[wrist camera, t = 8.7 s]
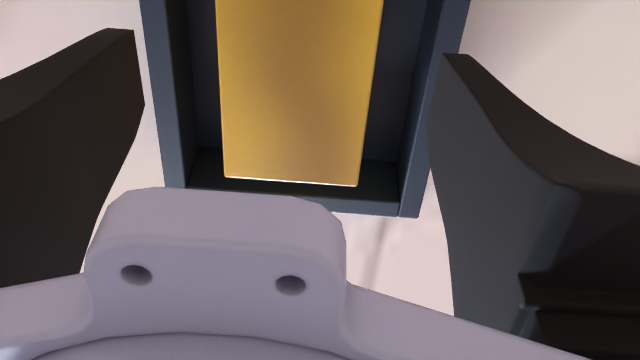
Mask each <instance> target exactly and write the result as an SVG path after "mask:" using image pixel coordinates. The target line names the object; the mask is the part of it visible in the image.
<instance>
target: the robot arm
mask: <svg viewBox="0 0 640 360" xmlns="http://www.w3.org/2000/svg"><path fill="white" fill-rule="evenodd" d="M144 107H145V102H144V95H143V89H142V82H141V75H140V69H139V62H138V56H137V49H136V42H135V36H134V30H128V29H115V28H106V29H103V30H100V31H98V32H96V33H94V34H92V35H90V36H88V37H86V38H84V39H82V40H80V41H78V42H76V43H74V44H72V45H71V46H69V47H67V48H65V49H63V50H61V51H59V52H57V53H55V54H54V55H52V56H50V57H48V58H46V59H44V60H42V61H40V62H37V63H35V64H33V65H31V66H29V67H27V68H25V69H23V70H20V71H18V72H16V73H14V74H12V75H10V76H7V77H5V78H2V79H0V360H640V166H638V165H635V164H633V163H630V162H628V161H625V160H623V159H620V158H618V157H616V156H613V155H611V154H609V153H607V152H605V151H603V150H600V149H598V148H596V147H594V146H592V145H590V144H588V143H586V142H584V141H582V140H581V139H579V138H577V137H575V136H573V135H571V134H570V133H568V132H567V131H565V130H563V129H562V128H560V127H558V126H557V125H555V124H553V123H552V122H550V121H549V120H547V119H546V118H544V117H543V116H542V115H540V114H539V113H538V112H536V111H535V110H534V109H532V108H531V107H530V106H528V105H527V104H526V103H524V102H523V101H522V100H521V99H519V98H518V97H517V96H516V95H514V94H513V93H512V92H511V91H510V90H508V89H507V88H506V87H505V86H504V85H503V84H502V83H500V82H499V81H498V80H497V79H496V78H495V77H494V76H493V75H492V74H490V73H489V72H488V71H487V70H486V69H485V68H484V67H483V66H482V65H480V64H479V63H478V62H477V61H476V60H475V59H473V58H472V57H471V56H469V55H467V54H453V53H442V56H441V60H440V65H439V69H438V74H437V78H436V83H435V87H434V92H433V96H432V101H431V105H430V110H429V115H428V119H427V124H426V130H427V145H428V157H429V162H430V167H431V171H432V176H433V180H434V185H435V189H436V193H437V197H438V202H439V206H440V210H441V214H442V219H443V223H444V227H445V232H446V238H447V244H448V253H449V263H450V272H451V283H452V295H453V307H454V316H451V315H448V314H445V313H442V312H439V311H435V310H432V309H429V308H426V307H423V306H419V305H416V304H413V303H410V302H407V301H404V300H400V299H397V298H394V297H391V296H388V295H385V294H381V293H378V292H375V291H372V290H369V289H365V288H362V287H359V286H356V285H353V284H351V283H349V282H348V281H347V280H346V240H345V236H344V232H343V228H342V224H341V221H340V220H338V219H337V218H336V217H335V216H334V215H333V214H332V213H330V212H329V211H328V210H327V209H326V208H325V207H323V206H322V205H321V204H318V203H314V202H311V201H307V200H303V199H300V198H296V197H292V196H282V195H268V194H253V193H239V192H224V191H210V190H195V189H181V188H167V187H151V188H144V189H137V190H129V191H126V192H125V193H123V194H122V195H121V196H120V197H118V198H117V199H116V200H115V201H113V202H112V203H111V204H110V205H108V207H107V209H106V211H105V214H104V216H103V218H102V220H101V222H100V224H99V227H98V229H97V231H96V233H95V235H94V238H93V240H92V242H91V244H90V246H89V249H88V251H87V253H86V250H87V247H88V244H89V241H90V238H91V235H92V232H93V229H94V226H95V223H96V220H97V218H98V216H99V213H100V211H101V208H102V206H103V204H104V202H105V200H106V198H107V196H108V194H109V192H110V190H111V187H112V185H113V183H114V181H115V179H116V177H117V175H118V173H119V171H120V169H121V167H122V165H123V163H124V161H125V159H126V157H127V155H128V152H129V150H130V148H131V146H132V144H133V142H134V140H135V137H136V134H137V131H138V128H139V125H140V121H141V117H142V114H143V110H144ZM85 253H86V258H85V267H84V273H80V270H81V267H82V263H83V260H84V257H85Z"/></svg>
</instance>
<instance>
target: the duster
mask: <svg viewBox="0 0 640 360" xmlns="http://www.w3.org/2000/svg"><path fill="white" fill-rule="evenodd" d="M383 3H384V0H215V8H216V27H217V46H218V66H219V85H220V104H221V123H222V142H223V161H224V175H225V177H231V178H244V179H258V180H272V181H285V182H299V183H313V184H327V185H340V186H354V187H355V186H357V185H358V179H359V172H360V165H361V158H362V151H363V144H364V137H365V130H366V123H367V115H368V108H369V101H370V94H371V87H372V80H373V73H374V66H375V59H376V52H377V45H378V38H379V31H380V24H381V17H382V10H383Z"/></svg>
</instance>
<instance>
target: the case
mask: <svg viewBox="0 0 640 360" xmlns="http://www.w3.org/2000/svg"><path fill="white" fill-rule="evenodd" d="M139 2H140V9H141V16H142V24H143V31H144V38H145V45H146V52H147V60H148V67H149V74H150V81H151V88H152V95H153V103H154V110H155V117H156V124H157V131H158V138H159V146H160V153H161V160H162V167H163V174H164V181H165V187H167V188H181V189H195V190H210V191H224V192H239V193H253V194H268V195H282V196H292V197H296V198H300V199H303V200H307V201H311V202H314V203H318V204H321V205H322V206H323V207H325V208H326V209H327V210H328V211H329V212H331V213H345V214H359V215H372V216H386V217H397V216H398V217H401V218H415V219H417V218H418V217H419V212H420V208H421V204H422V200H423V196H424V192H425V188H426V184H427V179H428V175H429V171H430V162H429V157H428V145H427V130H426V124H427V119H428V115H429V110H430V105H431V101H432V96H433V92H434V87H435V83H436V78H437V74H438V69H439V65H440V60H441V56H442V53H453V54H458V51H459V47H460V43H461V39H462V35H463V31H464V26H465V22H466V18H467V14H468V10H469V6H470V2H471V0H384V3H383V10H382V17H381V24H380V31H379V38H378V45H377V52H376V59H375V66H374V73H373V80H372V87H371V94H370V101H369V108H368V115H367V123H366V130H365V137H364V144H363V151H362V158H361V165H360V172H359V179H358V185H357V186H355V187H354V186H340V185H327V184H313V183H299V182H285V181H272V180H258V179H244V178H231V177H225V175H224V161H223V142H222V123H221V104H220V85H219V66H218V46H217V27H216V8H215V0H139Z"/></svg>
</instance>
